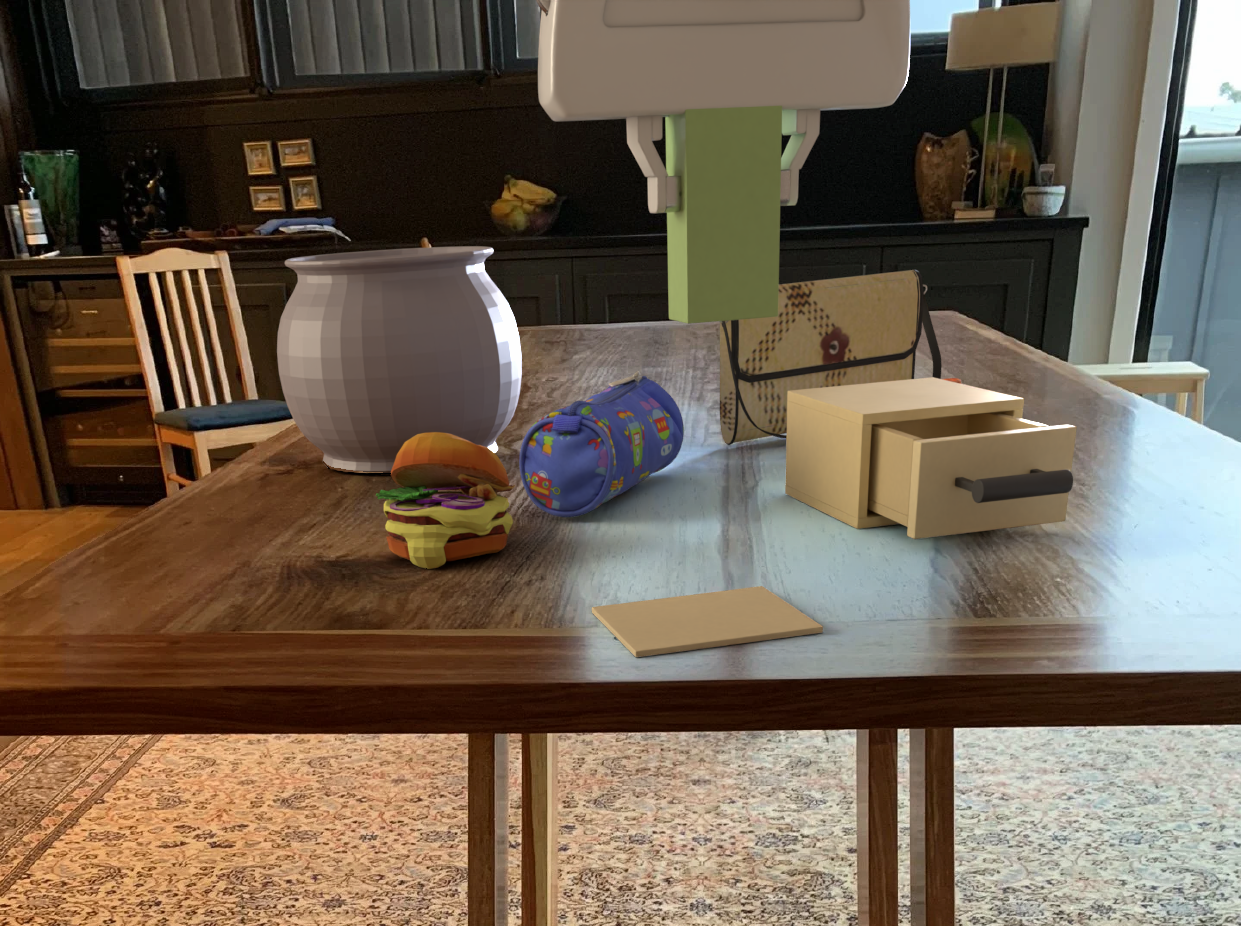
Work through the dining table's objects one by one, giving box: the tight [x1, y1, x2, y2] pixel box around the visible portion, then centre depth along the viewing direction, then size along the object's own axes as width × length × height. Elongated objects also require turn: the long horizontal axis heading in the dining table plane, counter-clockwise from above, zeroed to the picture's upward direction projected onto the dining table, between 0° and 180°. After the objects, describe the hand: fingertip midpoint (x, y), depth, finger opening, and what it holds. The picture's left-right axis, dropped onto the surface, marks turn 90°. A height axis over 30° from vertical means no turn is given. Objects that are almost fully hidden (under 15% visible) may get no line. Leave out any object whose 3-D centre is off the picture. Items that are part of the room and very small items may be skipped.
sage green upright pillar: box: [664, 106, 783, 325], centre depth 74 cm, size 6×4×11 cm, turn 105°
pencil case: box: [518, 370, 685, 518], centre depth 116 cm, size 22×9×10 cm, turn 159°
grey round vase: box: [276, 245, 523, 473], centre depth 135 cm, size 25×25×20 cm
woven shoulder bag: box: [718, 268, 942, 446], centre depth 138 cm, size 30×7×15 cm, turn 123°
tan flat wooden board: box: [591, 585, 824, 658], centre depth 83 cm, size 12×10×1 cm
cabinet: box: [784, 377, 1025, 530], centre depth 108 cm, size 15×14×9 cm
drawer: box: [867, 412, 1078, 540], centre depth 99 cm, size 18×12×7 cm
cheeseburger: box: [375, 432, 516, 570], centre depth 101 cm, size 10×11×10 cm
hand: (723, 209), depth 74 cm, fingers closed on sage green upright pillar, 5 cm apart
